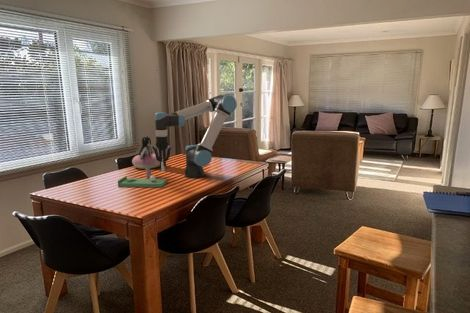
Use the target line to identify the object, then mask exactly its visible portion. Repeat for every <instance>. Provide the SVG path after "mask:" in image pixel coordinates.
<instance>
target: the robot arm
mask: <svg viewBox="0 0 470 313" xmlns="http://www.w3.org/2000/svg"><path fill="white" fill-rule="evenodd" d="M237 102H238V101H237V100H236V98H235V97H234V96H233V95H229V94H219V95H216V96H214V97H211V98H208V99H207V100H205V101H204V102H200V103H198V104H194V105H192V106H189V107H186V108H183V109H181V110H180V109H179V110H177V111H174V112H172V113H167V112H162V111H161V112H156V113H155V114H154V122H155V123H154V124H155V136H156V137H155V145H154V146H152V147H151V149H152V150H154V154H155V156H156V159H157V161H160V166H159V167H161V170H160V171H161V172H165V171H166V170H165V169H166V166H167V162H168V161H169V160H170V155H171V150H172V148H173V146H171V145H170V144H169V143H168V142H169V140H168V139H169V138H168V127H169V128H170V127H171V128H172V127H173V128H174V127H180V128H181V127H184V126H185V124H186V120H189V119H192V118H194V117H198V116H201V115H204V114H206V113H213V112H215V113H214V115H213V116H212V119H211V120H210V124H209V125H208V127H207V128H206V129H207V130H206V131H205V132H204V133H205V134H204V136H203V138H202V140H201V142H199V143H198V144H190V145H186V146H185V163H186V164H185V170H184V172H183V174H184V175H183V176H184V177H185V178H189V179H190V178H191V179H197V178H202V177H205V175H206V174H205V170H204V168H203V167H206V166H208V165H209V164H211V162H212V160H213V157H212V154H213V151H214V150H213V146H214V145H215V142H216V140H217V139H218V136H219V134H220V131H221V130H222V128H223V125H224V123H225V121H226V119H227V118H229V117H230V115H231V114H232V113H233V112H234V111H235V110H236V109H237V106H238V104H237ZM162 159H163V161H162Z"/></svg>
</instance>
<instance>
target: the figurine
mask: <svg viewBox="0 0 470 313" xmlns="http://www.w3.org/2000/svg"><path fill="white" fill-rule="evenodd" d="M151 144H152V140H151V138H150V137H149V136H145V137H142V138H141V147H140V149H139V152H138V155H140V159H142V160H143V162H142V164H141V165H142V166H146V169H145V174H146V178H150V176H152V175H153V174H152V172H151V169H150V166H153V165H154V164H155V163H154V160H153V158H152V156H153V154H155V152H154V149H153V148H152V147H151ZM138 160H139V159H138Z"/></svg>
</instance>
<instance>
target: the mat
mask: <svg viewBox="0 0 470 313" xmlns="http://www.w3.org/2000/svg"><path fill="white" fill-rule="evenodd" d="M166 184H168V179H166V178H156V180H155V181H151V180H150V178H128V177H127V176H126V175H125V176H123V177H122V178H120V179H119V180H117V187H118V188H120V187H121V188H124V187H125V188H163V187H164V186H165V185H166Z"/></svg>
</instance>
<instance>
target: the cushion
mask: <svg viewBox="0 0 470 313" xmlns="http://www.w3.org/2000/svg"><path fill="white" fill-rule="evenodd" d="M152 154H153V156H152V158H153V160H154V163H155V164H154V165H153V166H150V170H151V169H155V168H158V167H161V166H160V161H157V159H156V156H155V153H152ZM138 159H139V160H138ZM162 161H163V158H162ZM142 162H143V160H142V159H140V155H139V154H137V155H135V156H134V157H133V158H132V160H131V163H132V165H133V166H134V167H135V169H141V170H146V166H142V165H141V164H142Z"/></svg>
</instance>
